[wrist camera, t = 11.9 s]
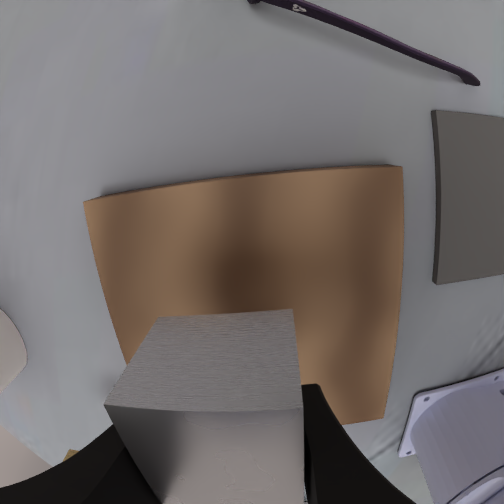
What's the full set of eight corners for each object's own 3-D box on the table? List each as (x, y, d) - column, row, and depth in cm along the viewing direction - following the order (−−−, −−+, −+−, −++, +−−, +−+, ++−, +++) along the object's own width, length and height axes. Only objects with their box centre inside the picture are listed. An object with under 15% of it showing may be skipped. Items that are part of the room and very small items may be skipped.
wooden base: (388, 164, 16) (444, 173, 10) (376, 399, 20) (398, 462, 14) (100, 196, 17) (35, 218, 11) (160, 410, 22) (136, 471, 16)
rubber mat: (541, 126, 14) (546, 126, 13) (536, 264, 17) (540, 266, 16) (431, 111, 14) (436, 110, 14) (432, 281, 17) (436, 284, 17)
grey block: (292, 308, 9) (303, 407, 5) (298, 442, 11) (303, 529, 7) (158, 316, 9) (103, 404, 6) (197, 444, 11) (177, 525, 7)
